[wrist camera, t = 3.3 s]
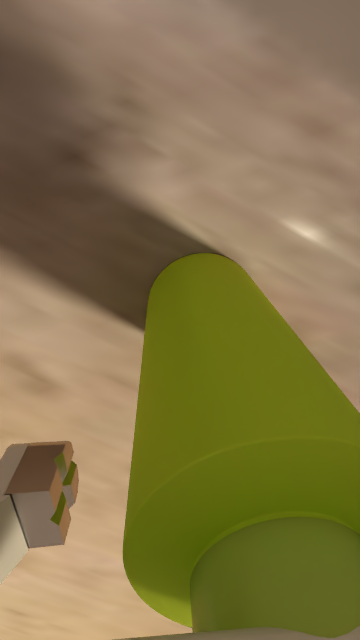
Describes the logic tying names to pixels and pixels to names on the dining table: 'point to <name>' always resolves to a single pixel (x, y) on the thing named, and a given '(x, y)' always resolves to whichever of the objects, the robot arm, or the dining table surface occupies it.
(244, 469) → the soap dispenser
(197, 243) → the dining table surface
